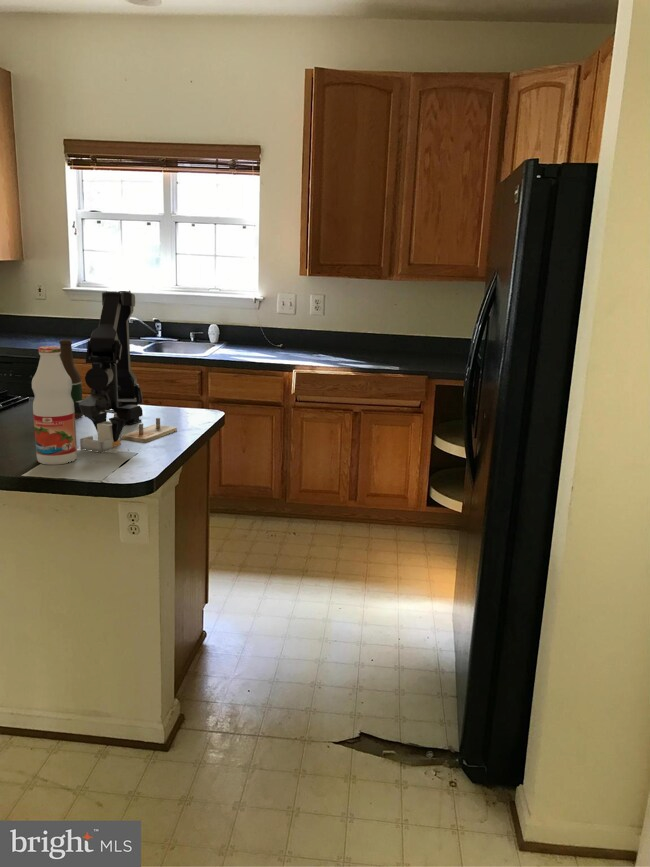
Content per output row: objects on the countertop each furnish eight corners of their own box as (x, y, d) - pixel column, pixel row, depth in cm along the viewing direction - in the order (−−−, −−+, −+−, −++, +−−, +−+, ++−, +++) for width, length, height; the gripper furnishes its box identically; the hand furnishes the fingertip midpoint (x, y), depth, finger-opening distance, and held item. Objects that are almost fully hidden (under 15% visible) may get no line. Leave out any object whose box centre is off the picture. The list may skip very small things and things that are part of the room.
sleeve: (97, 445, 185) (96, 423, 183) (107, 442, 189) (106, 420, 187) (110, 447, 183) (109, 425, 182) (120, 444, 187) (119, 422, 186)
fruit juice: (83, 455, 176) (77, 345, 169) (67, 466, 166) (59, 350, 160) (48, 453, 176) (40, 344, 169) (29, 464, 167) (20, 348, 160)
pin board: (121, 439, 192) (121, 425, 191) (154, 427, 206) (153, 414, 205) (145, 442, 189) (145, 428, 188) (176, 430, 203) (176, 417, 202)
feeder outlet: (80, 449, 181) (80, 439, 180) (91, 445, 185) (90, 435, 184) (102, 452, 178) (101, 442, 178) (112, 449, 182) (111, 438, 181)
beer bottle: (88, 416, 218) (84, 339, 212) (68, 420, 211) (62, 341, 205) (72, 412, 222) (67, 337, 216) (51, 416, 215) (46, 339, 209)
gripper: (55, 384, 178) (59, 443, 182) (115, 391, 171) (118, 452, 175) (85, 378, 188) (88, 433, 192) (142, 384, 181) (144, 442, 185)
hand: (108, 440), depth 186 cm, fingers closed on sleeve, 4 cm apart
